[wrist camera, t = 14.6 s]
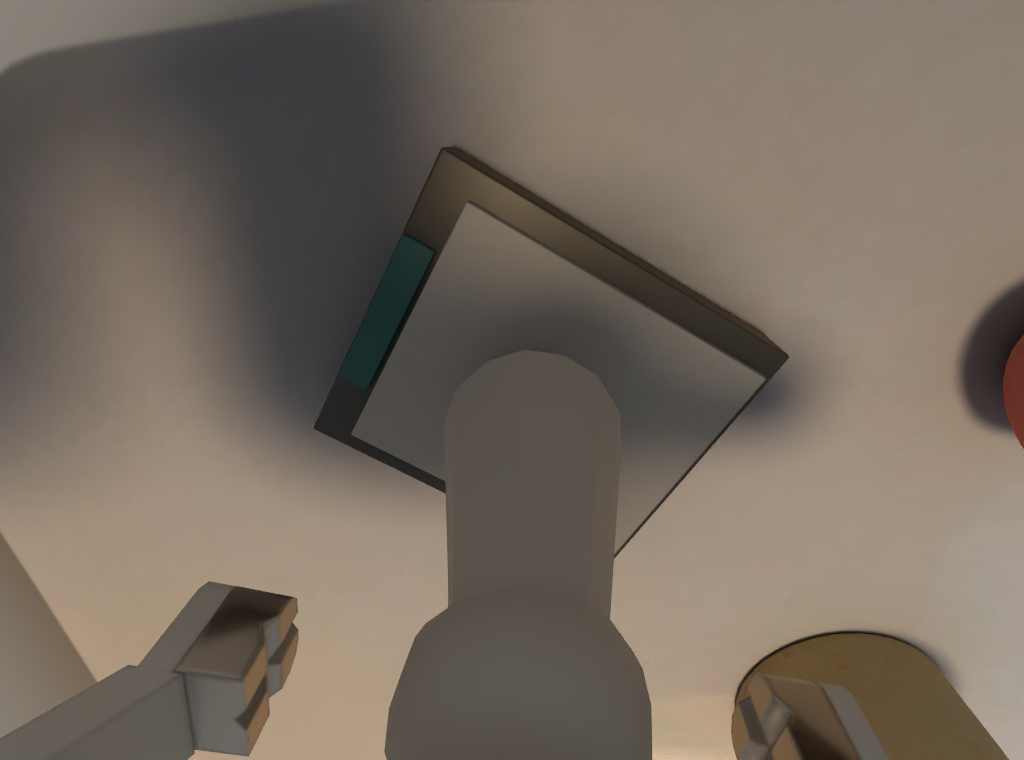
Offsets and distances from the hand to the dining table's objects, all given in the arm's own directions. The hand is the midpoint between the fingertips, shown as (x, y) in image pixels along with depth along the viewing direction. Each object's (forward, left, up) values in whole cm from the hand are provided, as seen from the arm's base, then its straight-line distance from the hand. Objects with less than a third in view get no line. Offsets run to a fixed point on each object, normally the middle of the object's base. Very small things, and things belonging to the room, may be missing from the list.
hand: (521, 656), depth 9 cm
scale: (0, 0, -14) cm, 14 cm away
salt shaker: (0, 0, -11) cm, 11 cm away
